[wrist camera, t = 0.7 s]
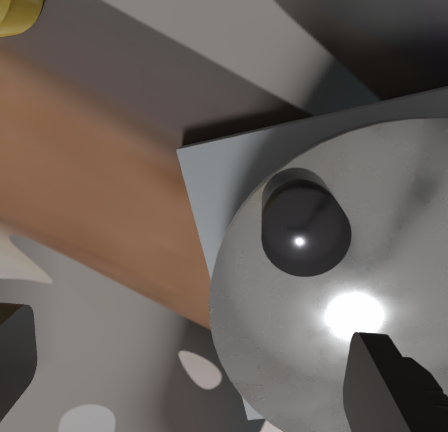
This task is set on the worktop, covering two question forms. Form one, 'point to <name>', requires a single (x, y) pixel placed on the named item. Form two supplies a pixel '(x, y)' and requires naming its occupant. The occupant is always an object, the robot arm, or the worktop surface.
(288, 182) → the handwheel
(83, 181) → the worktop surface
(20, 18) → the plant pot
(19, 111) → the worktop surface
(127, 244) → the worktop surface
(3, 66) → the worktop surface
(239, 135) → the wheel base
